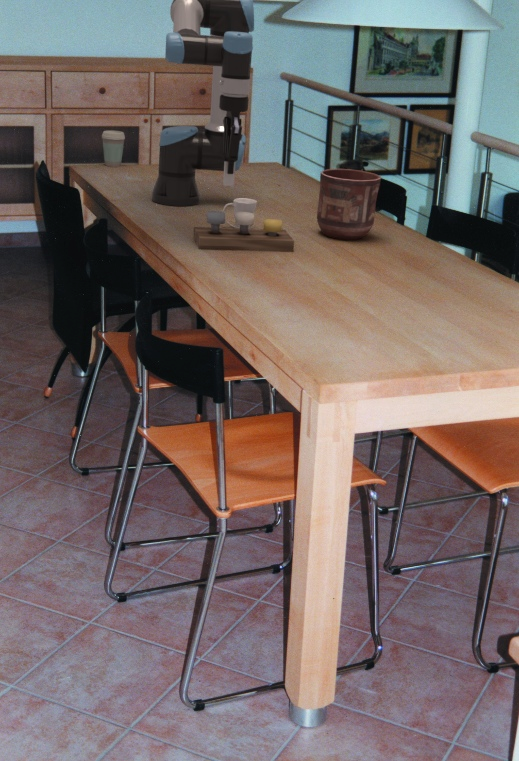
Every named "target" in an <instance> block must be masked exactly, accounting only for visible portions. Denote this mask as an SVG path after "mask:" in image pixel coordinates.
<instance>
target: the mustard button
mask: <svg viewBox="0 0 519 761" xmlns="http://www.w3.org/2000/svg"><path fill="white" fill-rule="evenodd" d="M282 228H283V220H281V219H276V218H266V219H264V220H263V228H262V229H263V230H265V231H268V236H276V233H277V232H281V230H283V229H282Z"/></svg>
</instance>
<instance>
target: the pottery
mask: <svg viewBox="0 0 519 761" xmlns="http://www.w3.org/2000/svg"><path fill="white" fill-rule="evenodd" d="M319 177H320V178H319V194H318V195H319V197H318V203H317V212H316V213H317V214H316V215H317V216H316V223H317V224H318V226H319V227H318V228H319V229H320V230H321V231H322V233H323V234H324V235H325V236H326V237H328V238H331V239H336V240H343V241H345V240H346V241H356V240H361V239H363V238H364V237H365V236H366V235H367V234H369V233H370V232H371V230H372V228H373V227H374V226H373V225H374V222H375V215H376V204H377V203H376V202H377V198H378V193H379V190H380V186H381V182H382V181H381V180H382V177H381V176H380V175H378V174H376V173H373V172H369V171H363V170H357V169H350V168H347V169H346V168H330V169H324V170H322V171H320V175H319Z"/></svg>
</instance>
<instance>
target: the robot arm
mask: <svg viewBox="0 0 519 761" xmlns="http://www.w3.org/2000/svg"><path fill="white" fill-rule="evenodd" d="M254 8H255V7H254V0H173V1H172V2H171V6H170V9H169V10H170V11H169V14H170V18H171V21H172V22H173V24H172V25H173V27H172V30H173V32H169V33H167V34H166V36H165V55H164V56H165V58H164V59H165V60H166V62H168V63H173V64H174V63H175V64H178V65H181V64H183V65H197V66H198V65H199V66H211V67H212V79H211V80H212V82H211V96H210V97H211V98H210V116H209V122H208V123H207V124H205V125H204V131H203V132H202V131H199V129H198V127H197V126H194V125H178V126H170V127H165V128H164V129H162V131H161V132H160V135H159V136H160V138H159V143H158V146H159V155H158V157H159V158H158V176H157V179H156V182H155V185H154V187H153V189H152V193H151V201H153V202H154V203H157V204H160V205H166V206H172V207H173V206H174V207H191V206H196V205H198V204H199V203H200V192H199V188H198V184H197V181H196V170H199V171H215V172H223V178H222V179H223V180H222V185H223V186H224V187H225V186H226V187H227V186H228V187H234V186H235V177H236V176H235V174H236V173H235V172H237V171H239V170H240V168H241V166H242V163H243V159H244V154H245V149H246V143H247V142H246V141H247V139H246V138H247V137H246V135H245V134H243V133H242V131H243V126H242V118H240V117H241V113H245V112H248V109H249V100H250V98H249V97H248V96H249V95H250V88H251V69H252V68H251V67H252V57H253V56H252V54H253V48H254V46H253V38H254V37H253V35H252V32H254V31H255V10H254ZM202 28H204V29H209V31H210V32H209V35H206V34H205V35H204V34H201V29H202Z"/></svg>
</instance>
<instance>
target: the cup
mask: <svg viewBox="0 0 519 761" xmlns="http://www.w3.org/2000/svg"><path fill="white" fill-rule="evenodd" d="M257 204H258V201H257V200H256V199H253V198H246V197H241V198H239V197H238V198H234V199H233V202H229V203H226V204H225V205H224V207H223V209H222V212H224V213H225V209H226V208H227V207H228V206H233V210H234V212H233V213H234V220H235V221H236V213H237V212H249V213H253V214H254V215H255V213H256V209H257ZM225 223H227V224H228V225H229V226H231V228H240V225H239V224H236V225H233V224H231V223H230V222H229V221H228V220H227V219H226V218H225ZM248 229H252V227H251V225H249V228H248Z"/></svg>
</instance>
